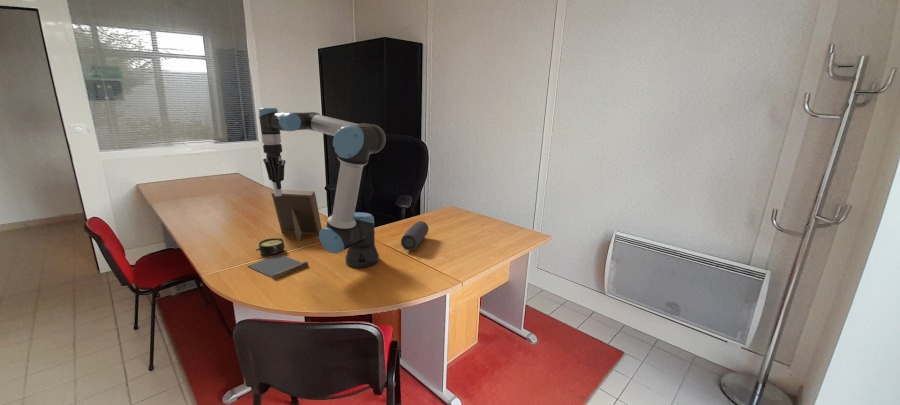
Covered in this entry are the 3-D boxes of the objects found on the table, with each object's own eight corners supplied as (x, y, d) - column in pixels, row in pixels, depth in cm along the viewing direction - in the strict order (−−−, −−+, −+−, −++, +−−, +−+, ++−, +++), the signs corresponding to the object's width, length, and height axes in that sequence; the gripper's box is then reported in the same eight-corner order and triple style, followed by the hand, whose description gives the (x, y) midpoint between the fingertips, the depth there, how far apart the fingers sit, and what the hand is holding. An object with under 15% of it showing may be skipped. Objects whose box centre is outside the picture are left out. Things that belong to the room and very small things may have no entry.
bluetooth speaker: (417, 253, 183) (417, 234, 180) (399, 251, 184) (399, 233, 182) (429, 238, 204) (429, 220, 202) (413, 236, 206) (413, 219, 203)
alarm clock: (252, 247, 172) (269, 233, 188) (254, 257, 174) (270, 243, 190) (276, 247, 173) (290, 234, 188) (277, 258, 174) (291, 243, 190)
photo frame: (285, 229, 211) (281, 186, 204) (322, 232, 209) (319, 188, 202) (270, 239, 196) (265, 193, 190) (310, 241, 194) (306, 195, 188)
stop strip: (308, 266, 166) (307, 261, 165) (274, 279, 153) (274, 274, 152) (306, 265, 167) (305, 261, 166) (272, 278, 154) (272, 273, 153)
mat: (307, 265, 166) (307, 264, 166) (274, 279, 153) (274, 278, 153) (280, 255, 177) (280, 254, 176) (247, 266, 164) (247, 265, 163)
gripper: (289, 143, 164) (294, 195, 169) (270, 142, 170) (276, 192, 176) (273, 145, 157) (279, 199, 163) (255, 143, 164) (262, 195, 170)
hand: (278, 195), depth 170 cm, fingers closed
